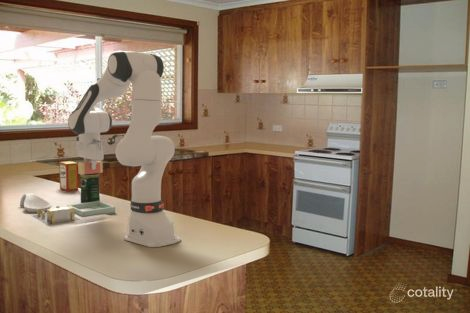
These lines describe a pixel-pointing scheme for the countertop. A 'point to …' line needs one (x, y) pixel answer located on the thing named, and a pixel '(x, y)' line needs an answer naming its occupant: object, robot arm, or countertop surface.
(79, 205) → the tray
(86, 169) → the fuse
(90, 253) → the countertop surface
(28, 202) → the spoon rest
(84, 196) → the coffee jar
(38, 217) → the fuse holder
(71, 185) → the baking soda box
